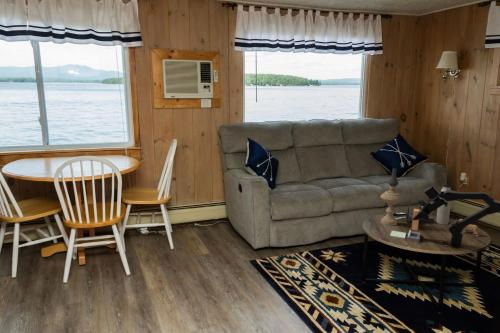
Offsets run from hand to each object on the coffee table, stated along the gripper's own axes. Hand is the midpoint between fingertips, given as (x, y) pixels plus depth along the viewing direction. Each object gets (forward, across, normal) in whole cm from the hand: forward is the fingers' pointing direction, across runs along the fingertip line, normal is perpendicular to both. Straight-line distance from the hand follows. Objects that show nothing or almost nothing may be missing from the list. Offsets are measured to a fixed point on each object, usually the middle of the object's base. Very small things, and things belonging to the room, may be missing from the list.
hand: (413, 218), depth 244 cm
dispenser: (+8, 0, +10) cm, 13 cm away
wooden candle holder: (+21, -22, -2) cm, 30 cm away
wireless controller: (+9, -38, +10) cm, 40 cm away
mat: (+15, 0, +4) cm, 15 cm away
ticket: (+4, 0, +6) cm, 7 cm away
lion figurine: (-14, -28, +33) cm, 46 cm away
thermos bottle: (-3, -43, +22) cm, 48 cm away
